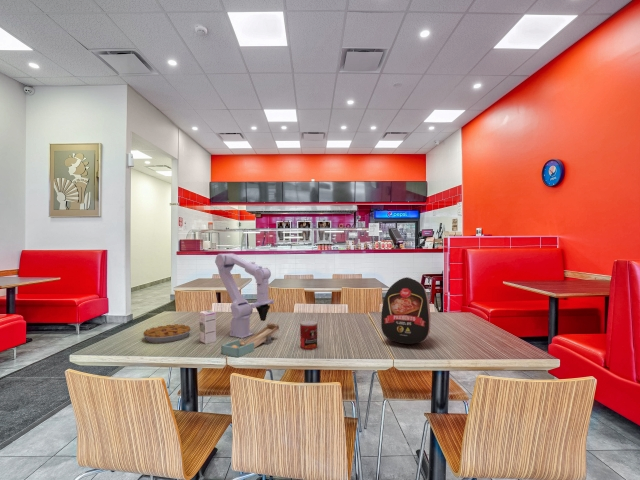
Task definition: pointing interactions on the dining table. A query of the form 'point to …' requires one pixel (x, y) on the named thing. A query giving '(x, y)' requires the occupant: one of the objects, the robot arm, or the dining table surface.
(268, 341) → the fulcrum
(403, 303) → the packaged food
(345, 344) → the dining table surface
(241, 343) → the lever
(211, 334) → the syrup box
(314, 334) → the canned food
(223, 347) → the teal u-shaped frame
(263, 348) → the dining table surface
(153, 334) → the pie
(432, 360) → the dining table surface
